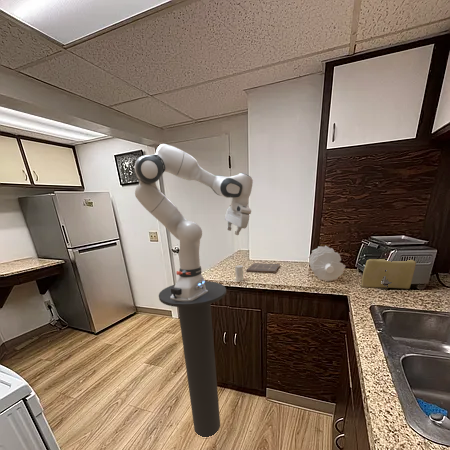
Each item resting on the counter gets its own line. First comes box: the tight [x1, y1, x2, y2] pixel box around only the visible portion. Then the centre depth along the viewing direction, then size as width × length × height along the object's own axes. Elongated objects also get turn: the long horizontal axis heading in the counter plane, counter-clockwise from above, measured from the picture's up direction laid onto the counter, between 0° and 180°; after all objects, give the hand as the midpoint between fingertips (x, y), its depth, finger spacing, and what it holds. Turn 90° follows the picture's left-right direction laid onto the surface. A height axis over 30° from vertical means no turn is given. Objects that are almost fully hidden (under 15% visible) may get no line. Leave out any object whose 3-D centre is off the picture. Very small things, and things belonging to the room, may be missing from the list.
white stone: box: [234, 264, 245, 282], centre depth 156 cm, size 5×5×9 cm
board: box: [245, 262, 281, 274], centre depth 179 cm, size 20×20×2 cm
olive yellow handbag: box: [360, 258, 417, 290], centre depth 130 cm, size 22×10×15 cm, turn 81°
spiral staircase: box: [308, 245, 346, 282], centre depth 151 cm, size 18×18×25 cm
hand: (232, 232), depth 139 cm, fingers open, 8 cm apart
